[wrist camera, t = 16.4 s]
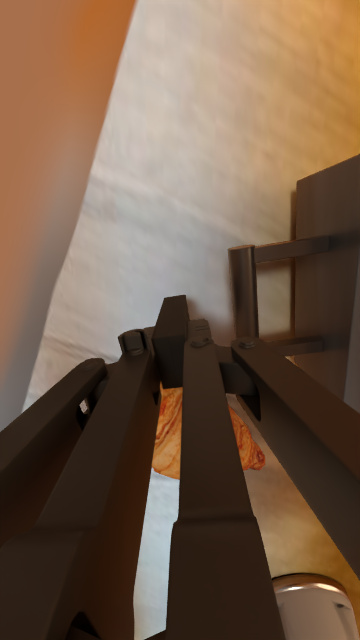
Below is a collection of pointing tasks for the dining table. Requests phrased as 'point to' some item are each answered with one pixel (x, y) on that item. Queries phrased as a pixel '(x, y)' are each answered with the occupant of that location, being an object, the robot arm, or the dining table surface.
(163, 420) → the croissant
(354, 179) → the drawer
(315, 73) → the dining table surface
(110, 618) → the robot arm
